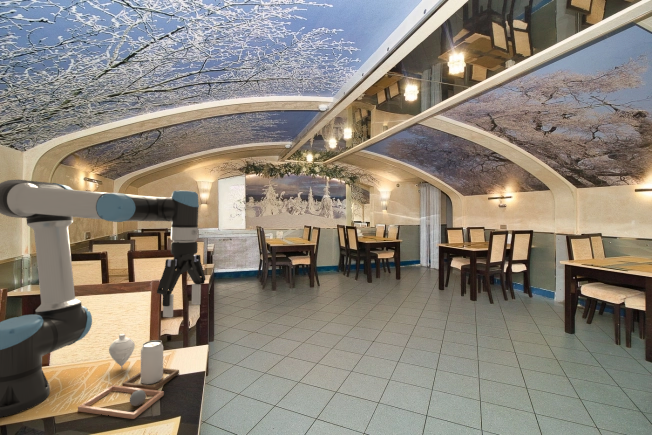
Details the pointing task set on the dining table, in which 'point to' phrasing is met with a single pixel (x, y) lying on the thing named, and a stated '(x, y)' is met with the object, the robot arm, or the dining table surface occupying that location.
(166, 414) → the dining table surface
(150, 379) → the can
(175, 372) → the brown square frame
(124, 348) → the spinning top
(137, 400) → the ball
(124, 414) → the open picture frame
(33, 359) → the robot arm
